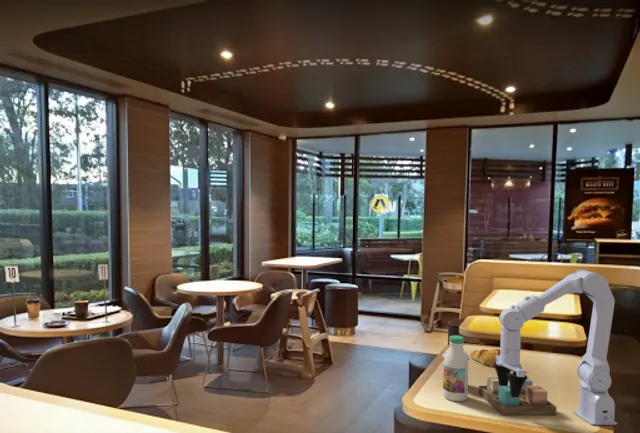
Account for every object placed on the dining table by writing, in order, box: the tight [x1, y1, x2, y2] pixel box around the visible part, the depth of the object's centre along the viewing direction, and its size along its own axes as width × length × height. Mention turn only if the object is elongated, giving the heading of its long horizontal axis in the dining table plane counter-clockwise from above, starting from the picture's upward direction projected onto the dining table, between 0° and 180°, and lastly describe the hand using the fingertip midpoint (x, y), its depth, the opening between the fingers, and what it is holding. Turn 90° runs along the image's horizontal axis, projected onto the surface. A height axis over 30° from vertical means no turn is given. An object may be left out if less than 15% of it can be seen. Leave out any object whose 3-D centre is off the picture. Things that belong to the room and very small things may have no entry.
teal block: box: [498, 385, 520, 406], centre depth 144 cm, size 4×4×6 cm
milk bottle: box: [442, 334, 469, 402], centre depth 153 cm, size 8×8×20 cm
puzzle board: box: [478, 375, 557, 416], centre depth 149 cm, size 17×17×6 cm
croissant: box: [469, 348, 500, 368], centre depth 188 cm, size 21×10×8 cm, turn 43°
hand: (509, 391), depth 144 cm, fingers open, 7 cm apart
